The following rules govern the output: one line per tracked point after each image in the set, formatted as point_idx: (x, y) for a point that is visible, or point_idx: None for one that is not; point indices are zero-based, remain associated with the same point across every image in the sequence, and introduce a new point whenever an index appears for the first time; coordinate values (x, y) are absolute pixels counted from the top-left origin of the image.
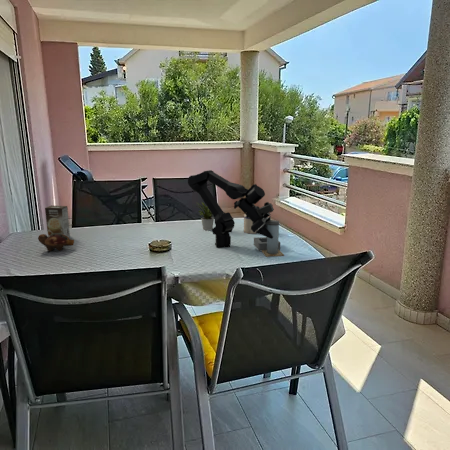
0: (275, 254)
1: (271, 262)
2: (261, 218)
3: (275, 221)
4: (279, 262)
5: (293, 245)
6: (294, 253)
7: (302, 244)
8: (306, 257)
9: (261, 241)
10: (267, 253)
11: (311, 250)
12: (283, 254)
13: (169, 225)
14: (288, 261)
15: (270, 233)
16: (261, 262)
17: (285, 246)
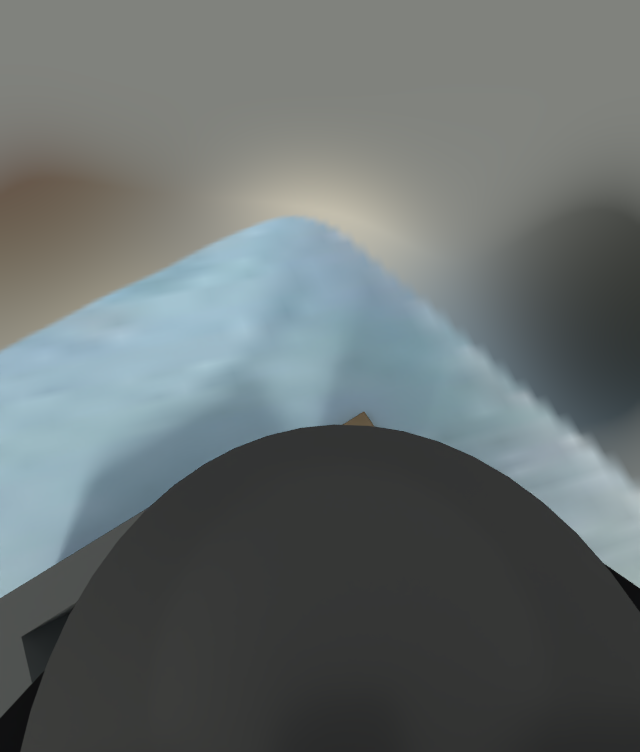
0: None
1: (572, 465)
2: None
3: (250, 639)
4: (535, 406)
5: (79, 405)
6: (280, 355)
7: (45, 349)
8: (339, 269)
9: None
10: None
11: (179, 271)
12: (362, 416)
13: None
14: (477, 353)
15: (624, 581)
16: (625, 550)
17: (116, 460)
